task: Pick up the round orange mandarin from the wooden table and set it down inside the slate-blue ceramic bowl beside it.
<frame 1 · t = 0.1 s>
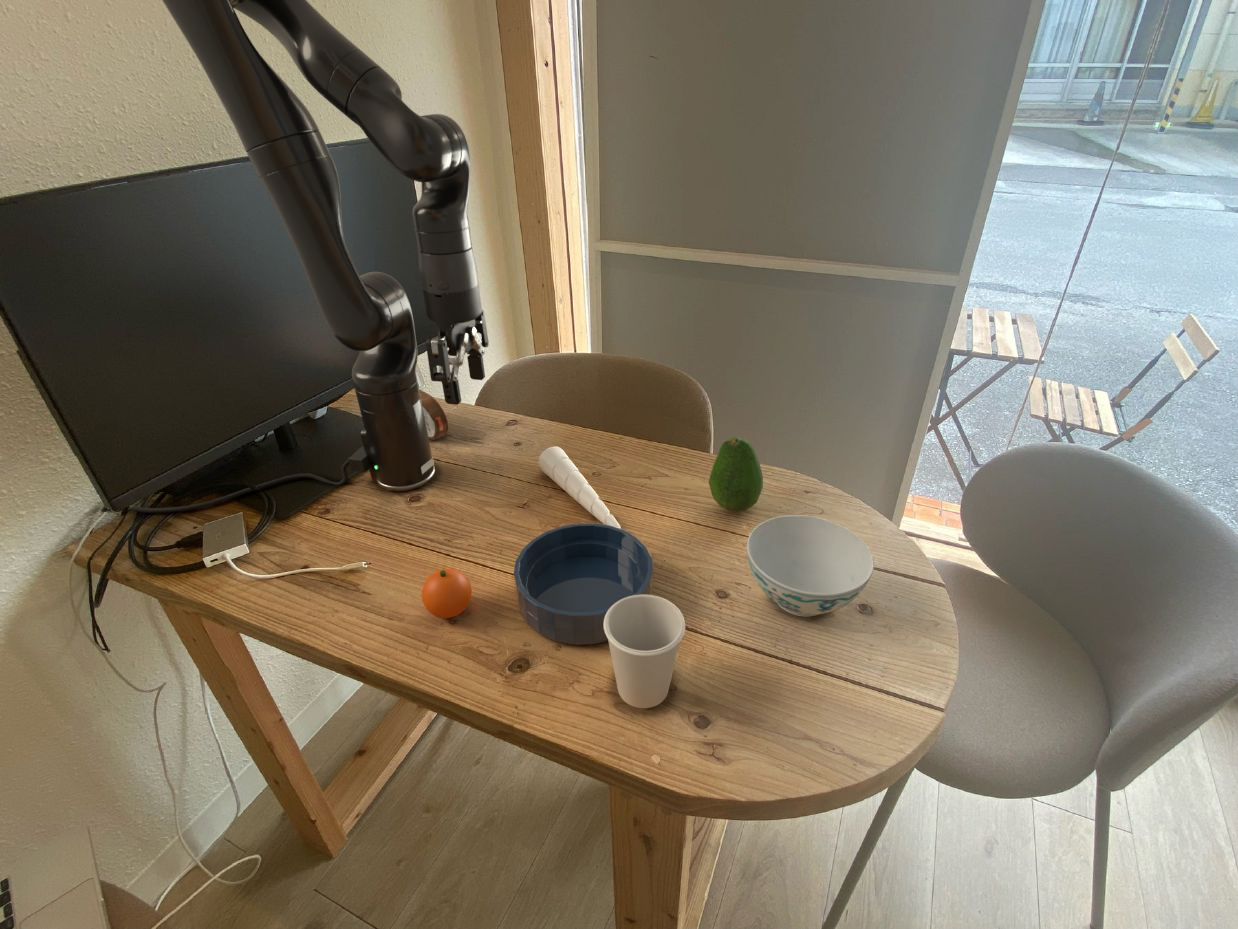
hand: (466, 390, 95), 17 cm above the table, tool pointing down, fingers open, 8 cm apart
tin: (422, 431, 120), on the table
mandarin: (446, 593, 79), point 3 cm above the table
dixie cup: (643, 687, 71), on the table
bowl: (585, 597, 82), on the table
unicorn horn: (584, 501, 101), on the table
chinaware: (800, 599, 82), on the table
avocado: (732, 508, 99), on the table
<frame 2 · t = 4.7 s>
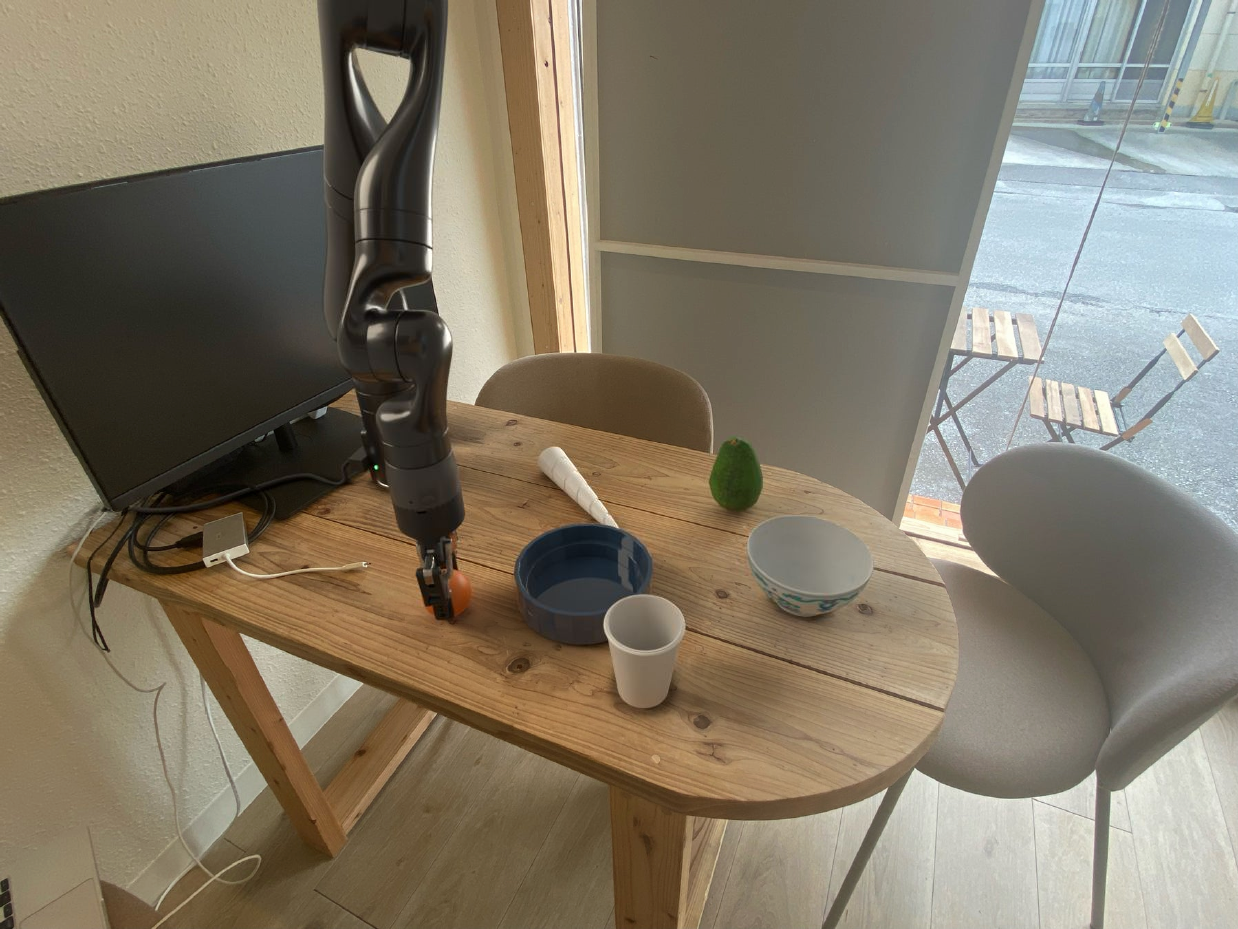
hand: (448, 598, 79), 2 cm above the table, tool pointing down, fingers closed on mandarin, 6 cm apart
mandarin: (446, 593, 79), point 3 cm above the table, touching gripper
everything else where it was.
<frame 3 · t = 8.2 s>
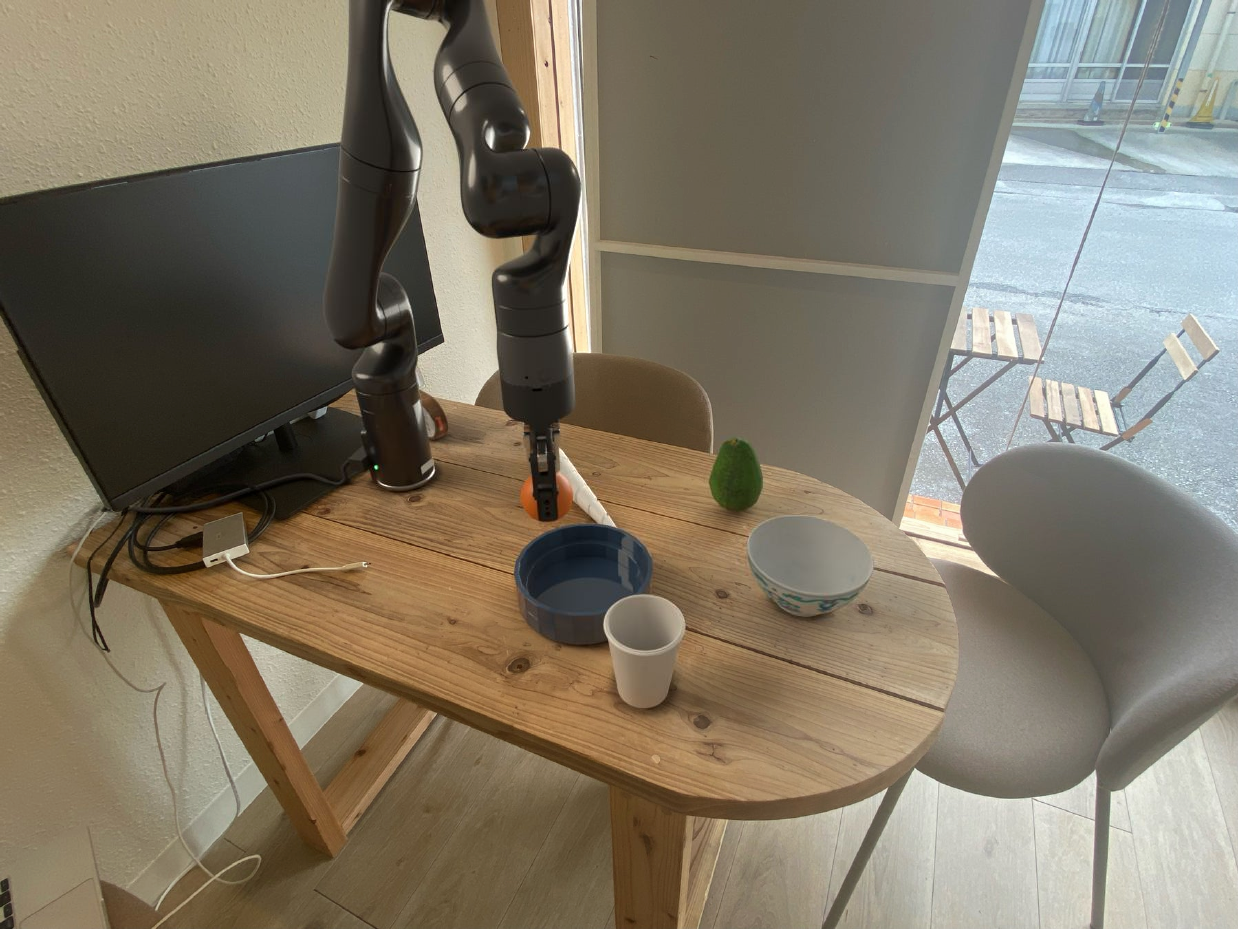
hand: (547, 502, 74), 16 cm above the table, tool pointing down, fingers closed on mandarin, 6 cm apart
mandarin: (547, 496, 73), point 16 cm above the table, touching gripper
everything else where it was.
when the fingers open (3 cm above the table, at t = 11.9 s): mandarin stays where it is, resting on bowl.
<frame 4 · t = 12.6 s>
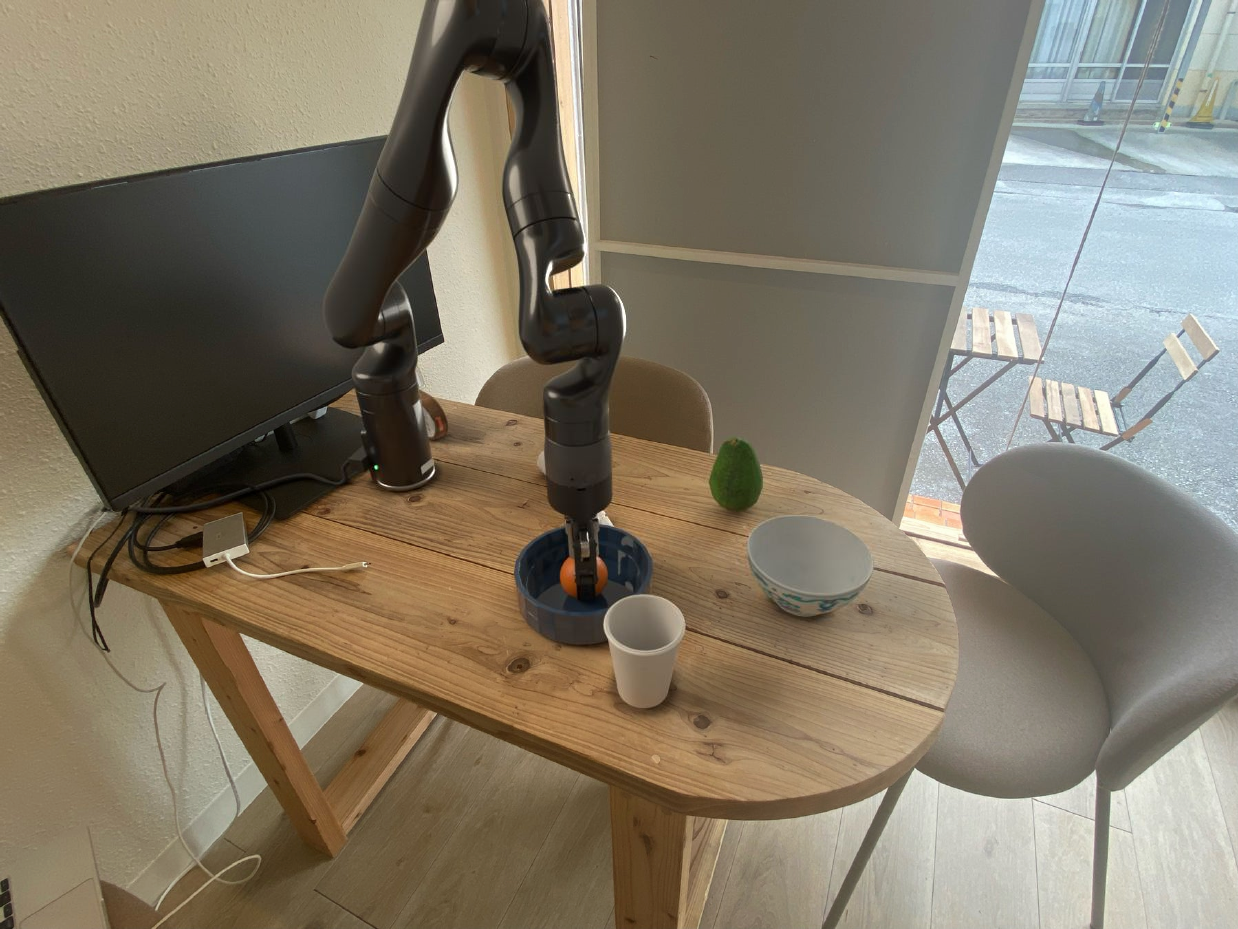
hand: (583, 574, 80), 4 cm above the table, tool pointing down, fingers open, 8 cm apart
mandarin: (583, 575, 80), point 4 cm above the table, touching bowl
everything else where it was.
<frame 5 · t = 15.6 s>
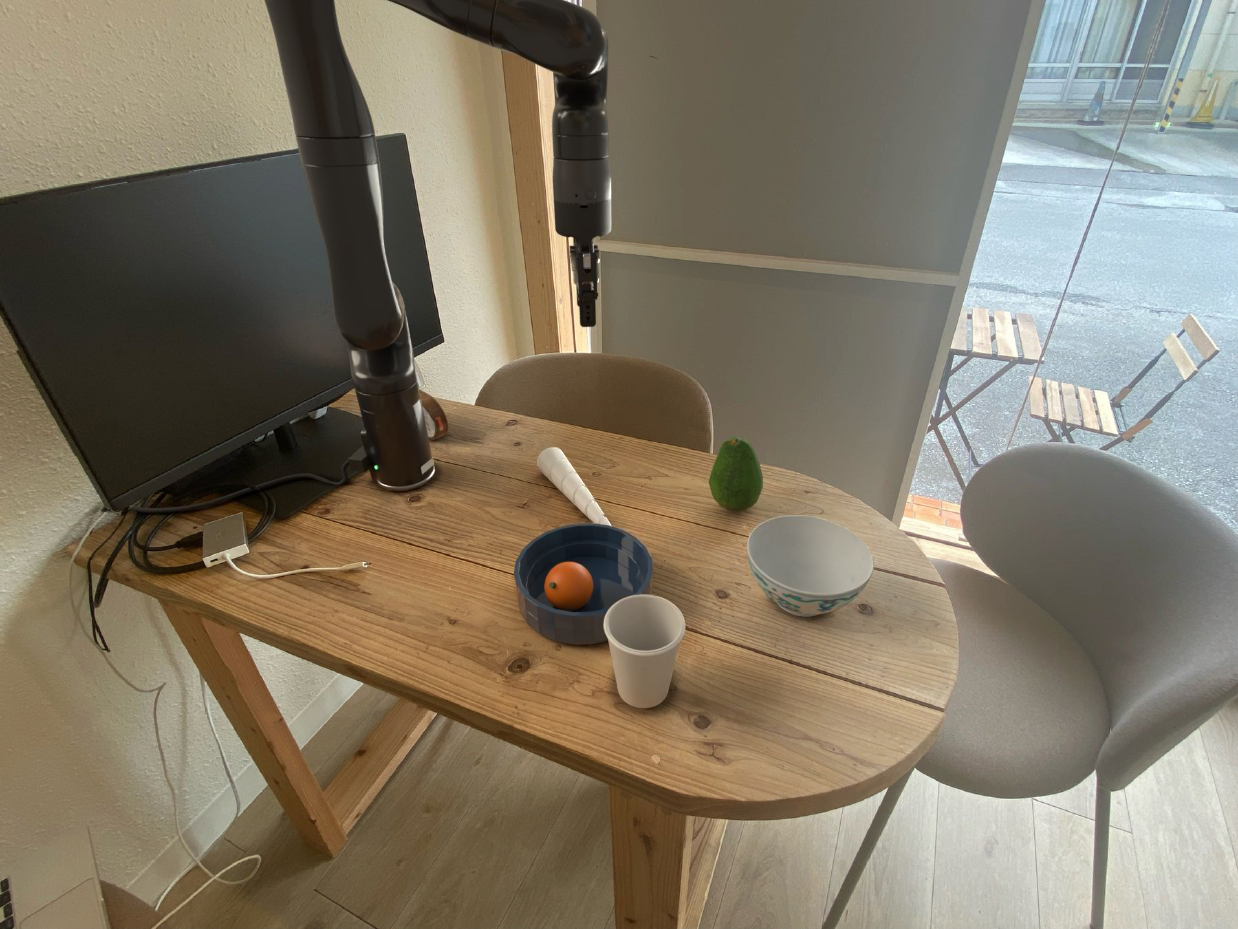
hand: (586, 315, 92), 28 cm above the table, tool pointing down, fingers open, 8 cm apart
mandarin: (568, 586, 79), point 4 cm above the table, tilted 53°, touching bowl
everything else where it was.
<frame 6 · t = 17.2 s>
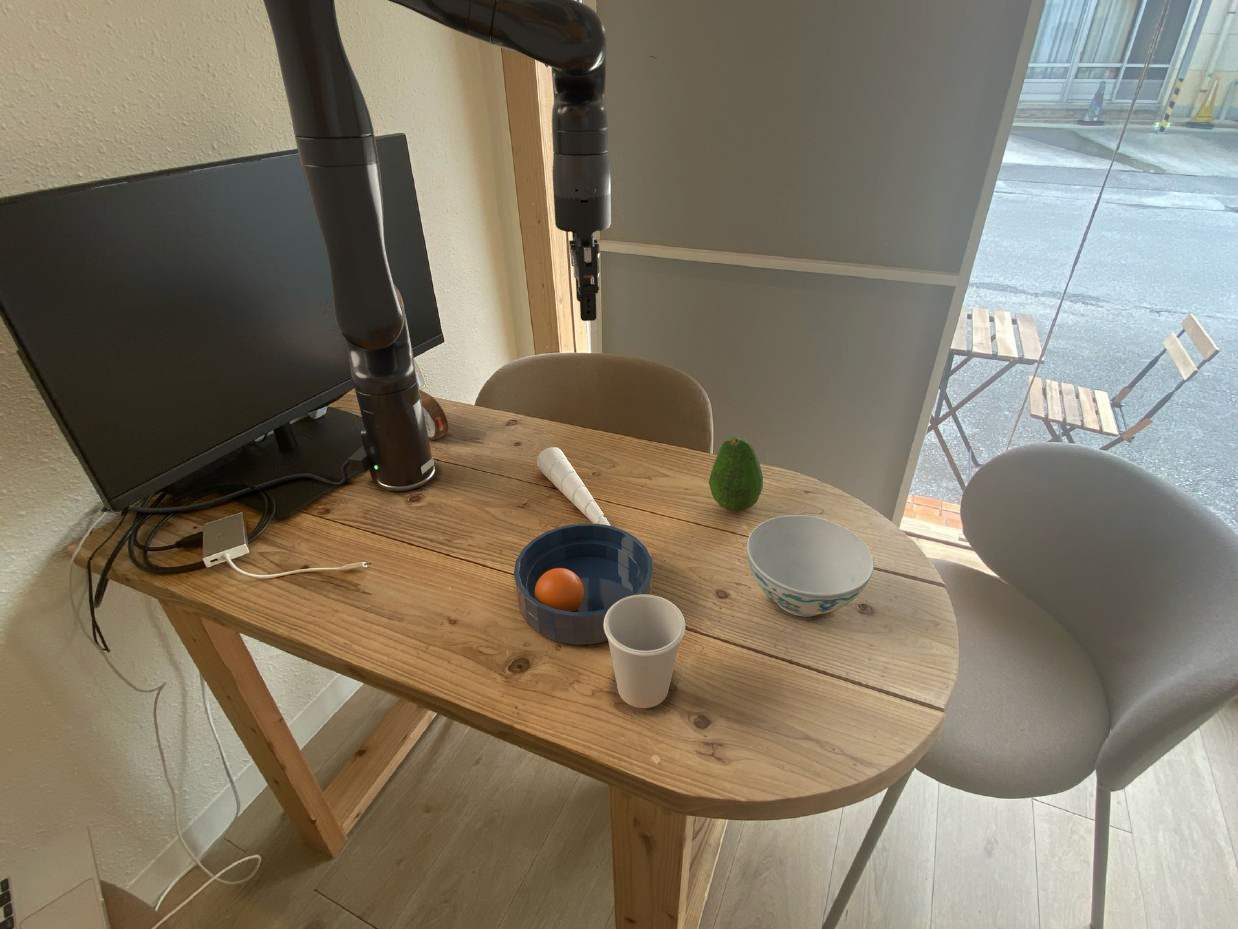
hand: (586, 310, 93), 28 cm above the table, tool pointing down, fingers open, 8 cm apart
mandarin: (559, 593, 78), point 4 cm above the table, tilted 84°, touching bowl
everything else where it was.
at the end: mandarin inside the target area in the bowl (4.3 cm from its centre), point 3.8 cm above the bowl's base; the gripper is holding nothing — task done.
